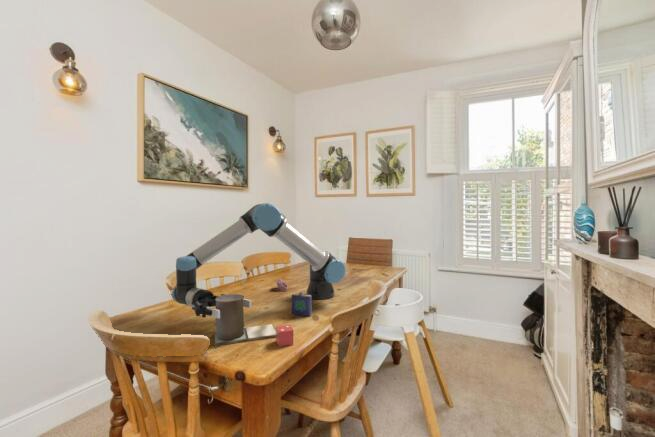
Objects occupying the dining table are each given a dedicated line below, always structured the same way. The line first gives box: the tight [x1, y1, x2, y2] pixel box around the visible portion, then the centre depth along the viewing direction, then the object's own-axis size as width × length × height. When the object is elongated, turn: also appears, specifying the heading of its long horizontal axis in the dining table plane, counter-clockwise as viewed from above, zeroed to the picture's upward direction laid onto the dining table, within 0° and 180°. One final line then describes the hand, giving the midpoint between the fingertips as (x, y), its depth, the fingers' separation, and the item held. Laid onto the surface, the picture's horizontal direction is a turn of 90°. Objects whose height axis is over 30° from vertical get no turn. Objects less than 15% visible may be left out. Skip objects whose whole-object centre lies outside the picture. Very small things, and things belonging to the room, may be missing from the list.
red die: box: [275, 324, 294, 348], centre depth 106 cm, size 5×5×5 cm
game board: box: [213, 323, 276, 347], centre depth 112 cm, size 22×11×1 cm, turn 111°
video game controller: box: [276, 278, 288, 292], centre depth 177 cm, size 10×5×7 cm, turn 6°
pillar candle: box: [215, 293, 245, 340], centre depth 110 cm, size 10×10×15 cm
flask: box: [291, 290, 313, 318], centre depth 133 cm, size 9×3×11 cm, turn 74°
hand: (235, 309), depth 108 cm, fingers open, 13 cm apart
